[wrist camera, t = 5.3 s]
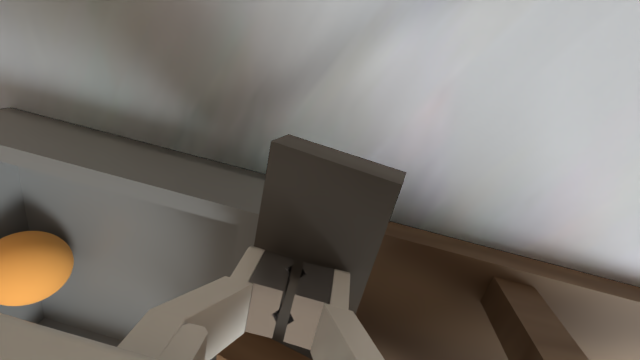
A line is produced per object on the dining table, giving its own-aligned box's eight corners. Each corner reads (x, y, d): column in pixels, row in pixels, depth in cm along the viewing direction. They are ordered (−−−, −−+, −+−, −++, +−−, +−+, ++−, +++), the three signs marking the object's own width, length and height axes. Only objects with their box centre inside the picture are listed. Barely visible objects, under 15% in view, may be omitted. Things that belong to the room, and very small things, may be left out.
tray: (10, 107, 17) (-90, 120, 13) (283, 179, 16) (259, 214, 12) (46, 314, 23) (-16, 363, 19) (246, 372, 22) (222, 435, 18)
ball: (-51, 236, 15) (-14, 274, 14) (48, 209, 19) (85, 238, 17) (-33, 296, 17) (2, 337, 15) (55, 261, 20) (90, 292, 19)
